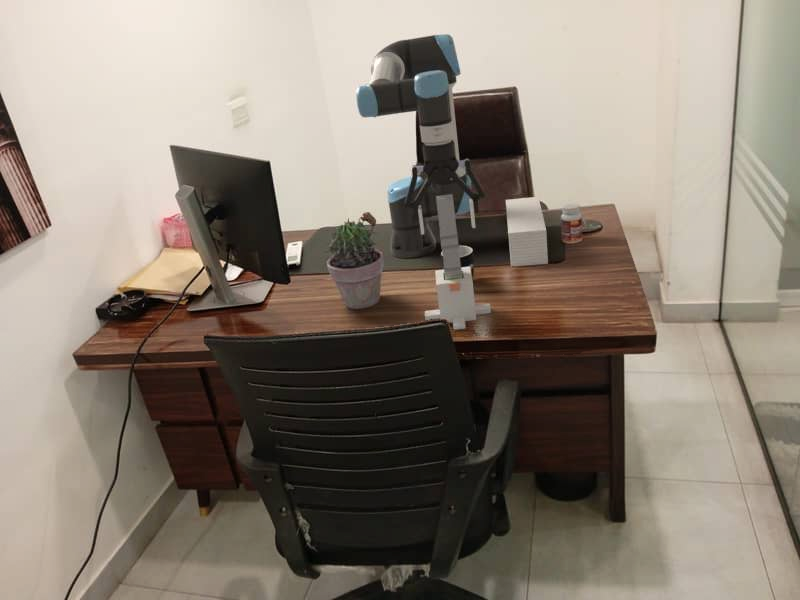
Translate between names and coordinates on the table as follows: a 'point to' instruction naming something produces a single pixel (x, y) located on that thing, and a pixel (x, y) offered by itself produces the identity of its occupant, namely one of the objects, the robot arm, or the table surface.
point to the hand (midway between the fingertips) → (448, 229)
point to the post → (449, 237)
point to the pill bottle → (571, 223)
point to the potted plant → (356, 263)
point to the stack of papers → (526, 232)
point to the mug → (464, 258)
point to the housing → (456, 300)
